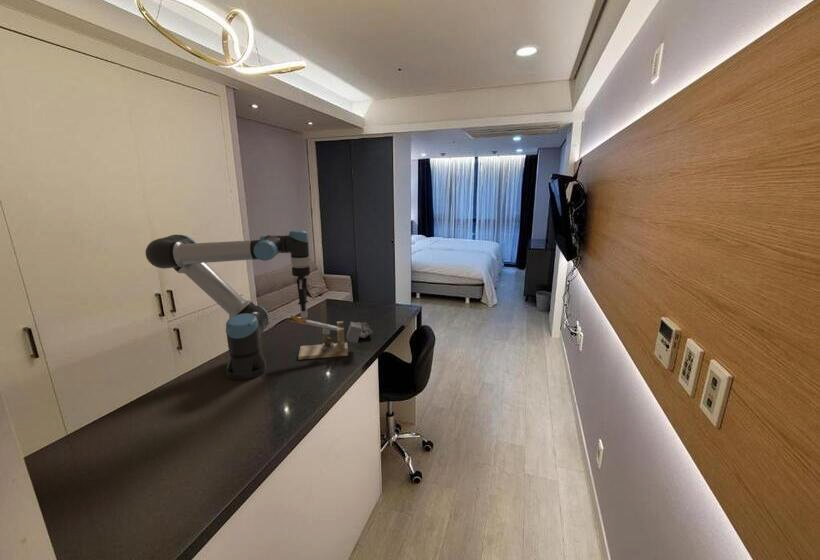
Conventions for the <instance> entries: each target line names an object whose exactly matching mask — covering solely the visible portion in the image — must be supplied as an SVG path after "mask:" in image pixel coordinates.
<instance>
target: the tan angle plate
mask: <svg viewBox="0 0 820 560" xmlns="http://www.w3.org/2000/svg"><path fill="white" fill-rule="evenodd" d="M336 326H338V327H339V326H342V328H337V331H336V332H337V333H336V335H337V342H336V343H334V342H333V339H332V338H331V337H330V336H325V338H323V343H322V344H310V345H300V348H299V351H298V357H297V358H298V360H308V359H309V360H311V359H323V358H335V357H346V356H347V357H348V356H349V348H348V342H345V327H344V326H345V325H344V320H340V321H336Z"/></svg>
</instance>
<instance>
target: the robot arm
mask: <svg viewBox="0 0 820 560" xmlns="http://www.w3.org/2000/svg"><path fill="white" fill-rule="evenodd" d="M309 247H310V246H309V238H308V232H307V231H306V230H303V229H298V230H294V229H293V230H289V232H288V234H287V235H286V234H285V235H271V234H270V235H269V234H268V235H261V236H260V237H259V239H256V240H255V239H254V240H253V239H251V240H235V241H215V242H196V241H195V240H194V239H193V238H191V237H190V236H188V235H184V234H171V235H168V236H166V237H165V236H164V237H161V238H157V239H154V240H151V242H150V243H148V245H147V246H146V249H145V251H144V252H145V257H146V260H147V262H148V263H149V264H151V265H152V266H154V267H155V268H159V269H166V270H167V269H173V270H174V271H176V273H178V274H184V275H186V277H188V278H189V279H190V280H191V281H193V283H195V284H196V285H197V286H198V287H199V288H200V289H201V290H202V291H203V292H204V293H206V295H207V296H208V297H210V298H211V299H212V300H213V301H214V302H215V303H216V304H217V305H218V306H219V307H220V308H221V309H223V310H224V311H225V312H226V313H227V314H228V319H227V321H226V323H225V333H226V339H227V346H228V347H227V348H228V354H229V357H228V361H227V367H226V370H225V371H226V376H227V378H229V379H230V380H235V381H242V380H243V381H244V380H249V379H253V378H255V377H258V376H260V375H262V374H264V372H265V371H266V370H267V368H268V367H267V361H266V359H265V357H264V355H263V353H262V351H261V345H260V336H261V335H262V334H263V333H264V331H265V330H266V329H267V327H268V324H269V322H270V317H269V316H270V315H269V313H268V311H267V310H266V308H264V307H263V306H261V305H256V304H255V303H253V301H252V300H246V299H244V298H243V297H242V296H241V295H240V294H239V293H238V292H237V291H236V289H233V287H231V286H230V284H228V282H226V280H224V279H223V278H222V277H221V276H220V275H219V274H218V273H217V272H216V271H215V270H213V268H212V267H210V265H209V264H207V263H221V262H233V261H234V262H236V261H237V262H238V261H249V260H250V261H251V260H254V261H255V260H259V261H264V262H265V261H270V260H272V259H274V258H275V257H276V256H277V255H278V254H290V262H291V263H290V265H291V275H292V276H294V277H297V278H296V285H297V286H296V287H297V291H298V292H297V294H298V300H299V302H297V304H298V305H299V308H300V311H299V312H300V317H301V318H305V319H307V318H308V306H307V304H308V303H309V299H308V298H307V282H308V281H307V277H308V276H310V275H311V267H310V261H311V258H310V255H309V254H310V252H309V251H310V249H309ZM307 299H308V300H307Z"/></svg>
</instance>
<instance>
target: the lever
mask: <svg viewBox="0 0 820 560" xmlns="http://www.w3.org/2000/svg"><path fill="white" fill-rule="evenodd" d="M289 321H290V322H293V323H297V324H302V325H310V326H314V327H318V328H323V329H322V334H323V335H328V336H329V335H330V333H331V330H332V331H336V332H337V328H342V326H339V327H338V326H337V325H332V324H328V323H323V322H319V321H315V320H311V319H307V318H301V316H296V315H291V316H290V318H289ZM361 330H362V327H361V324H359V323H357V322H355V321H354V322H353V321H350V322H349V326H348V329H347V331H348V332H347V333H346V342H349V343H356V344H358V342H359V339H360V337H359V336H360V333H361Z"/></svg>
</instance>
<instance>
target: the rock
mask: <svg viewBox="0 0 820 560" xmlns="http://www.w3.org/2000/svg"><path fill="white" fill-rule="evenodd" d="M356 323H359V324H361V327H362V330H361V333H360V336H359V338H362V339H366V338H367V337H368V336H370V335H372V334H373V333H374V332H373V330H371V328H370V325H369V324H367V322H360V321H357V322H356ZM347 332H348V330H347Z"/></svg>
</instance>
